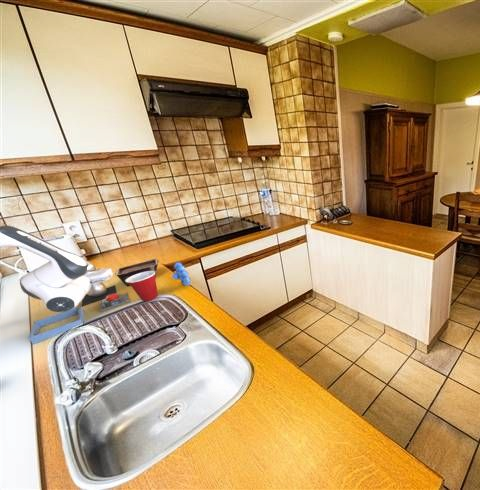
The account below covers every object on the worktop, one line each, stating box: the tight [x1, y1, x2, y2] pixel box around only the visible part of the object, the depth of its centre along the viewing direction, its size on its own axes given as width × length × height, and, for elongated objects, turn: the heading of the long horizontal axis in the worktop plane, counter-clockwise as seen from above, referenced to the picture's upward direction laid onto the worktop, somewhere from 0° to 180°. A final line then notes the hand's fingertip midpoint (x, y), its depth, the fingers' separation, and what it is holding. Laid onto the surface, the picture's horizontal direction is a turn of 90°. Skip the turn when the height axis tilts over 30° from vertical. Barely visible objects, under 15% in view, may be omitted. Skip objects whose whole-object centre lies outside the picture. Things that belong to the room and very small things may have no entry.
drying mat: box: [81, 284, 118, 307], centre depth 126 cm, size 12×12×1 cm
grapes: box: [171, 261, 191, 287], centre depth 129 cm, size 12×7×12 cm, turn 50°
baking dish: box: [114, 258, 159, 287], centre depth 139 cm, size 14×18×10 cm
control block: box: [98, 292, 131, 314], centre depth 119 cm, size 10×9×3 cm
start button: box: [106, 293, 118, 301], centre depth 118 cm, size 4×4×2 cm
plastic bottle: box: [79, 255, 107, 297], centre depth 122 cm, size 6×7×20 cm
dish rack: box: [28, 305, 85, 345], centre depth 106 cm, size 14×14×3 cm
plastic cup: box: [125, 271, 159, 302], centre depth 120 cm, size 11×11×12 cm
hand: (87, 272), depth 122 cm, fingers open, 8 cm apart
